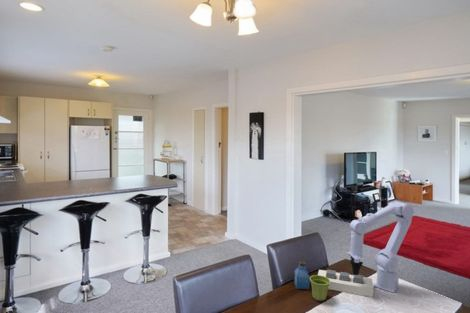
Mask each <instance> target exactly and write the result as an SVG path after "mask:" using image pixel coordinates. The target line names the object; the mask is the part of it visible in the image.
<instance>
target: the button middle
mask: <svg viewBox="0 0 470 313" xmlns="http://www.w3.org/2000/svg"><path fill="white" fill-rule="evenodd" d="M339 273H340V280H342V281H348V282H349V275H350V272H346V271H340V272H339Z"/></svg>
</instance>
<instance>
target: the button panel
mask: <svg viewBox="0 0 470 313" xmlns="http://www.w3.org/2000/svg"><path fill="white" fill-rule="evenodd" d="M326 273H327V270H324V269H318V273H317V275H321V276H324V277H326ZM328 279H330V281H331V282H330V284H329V286H328V290H333V291H337V292H343V293H347V294H353V295H359V296H364V297H369V298H374V284H373V278H372V277H365V276H363V284H359V283H354V282H353V279H354V275H353V274H349V282H348V281H342V280H340V272H336V279H331V278H328Z"/></svg>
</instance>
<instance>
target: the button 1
mask: <svg viewBox="0 0 470 313" xmlns="http://www.w3.org/2000/svg"><path fill="white" fill-rule="evenodd" d="M326 271H327V273H326V277H327V278H331V279H336V273H337V271H336V270H333V269H326Z"/></svg>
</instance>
